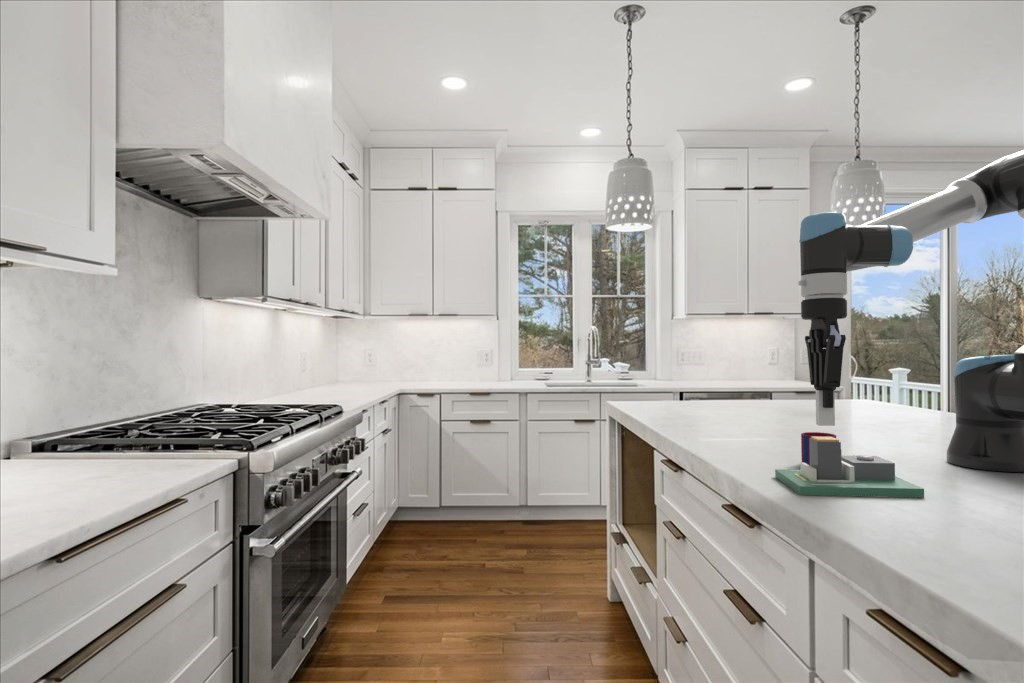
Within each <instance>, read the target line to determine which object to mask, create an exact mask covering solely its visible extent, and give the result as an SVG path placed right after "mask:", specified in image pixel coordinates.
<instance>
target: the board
mask: <svg viewBox="0 0 1024 683" xmlns="http://www.w3.org/2000/svg"><path fill="white" fill-rule="evenodd" d="M799 468H800V469H779V468H775V469H774V473H775V474H774V476H775V478H776V479H778V480H779V481H780V482H781V483H784V484H785V485H786V486H787V487H789V488H790V489H792V491H794V492H795V493H796V494H798V495H799V496H829V497H830V496H831V497H832V496H833V497H836V496H837V497H872V496H873V497H874V496H889V497H888V498H890V497H891V496H892V497H891V498H918V497H924V498H925V488H923V487H921V486H919V485H916V484H914V483H912V482H910V481H907V480H905V479H903V478H900V477H898V476H896V475H895V480H876V479H855V477H854V466H852V465H850V464H848V463H846V462H844V461H842V476H841V480H817V471H816V469H815V468H813V467H811V466H810V465H808V464H806V463H802V462H800V463H799ZM874 498H875V497H874Z"/></svg>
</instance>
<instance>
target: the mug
mask: <svg viewBox="0 0 1024 683" xmlns="http://www.w3.org/2000/svg"><path fill="white" fill-rule="evenodd" d="M811 436H818V437H833V438H836V439H837V435H836V434H834V433H831V432H830V433H828V432H818V431H816V432H814V431H813V432H812V431H809V432H802V433H801V434H800V437H801V438H800V440H801V441H800V443H801V445H800V446H801V451H800V452H801V463H806V464H808V465H810V449H809V438H811Z"/></svg>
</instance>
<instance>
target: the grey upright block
mask: <svg viewBox="0 0 1024 683" xmlns="http://www.w3.org/2000/svg"><path fill="white" fill-rule="evenodd" d="M809 449H810V466H811V467H813V468H815V469H816V471H817V480H841V476H842V457H841V456H842V442H841V441H840V439H838V438H837V437H836V438H833V437H818V436H811V438H809Z"/></svg>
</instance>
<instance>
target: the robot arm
mask: <svg viewBox="0 0 1024 683" xmlns="http://www.w3.org/2000/svg"><path fill="white" fill-rule="evenodd" d="M1013 212H1014V213H1015V212H1017V215H1018V216H1019V217H1020V218H1022V219H1024V149H1023V150H1020V151H1017V152H1013V153H1011V154H1008V155H1006V156H1003V157H1001V158H999V159H997V160H994V161H993V162H991V163H989V164H987V165H986V166H984V167H982V168H980V169H978V170H976V171H974V172H972V173H970V174H968V175H966V176H964V177H961V178H960V179H958V180H955V181H953V182H951V183H950V184H949V185H948V186H947V188H946V189H945V190H943V191H940V192H938V193H935V194H933V195H930V196H929V197H925V198H923V199H921V200H919V201H916V202H914V203H911V204H909V205H906V206H904V207H902V208H900V209H897V210H894V211H892V212H890V213H887V214H885V215H882V216H880V217H877V218H875V219H872V220H869V221H867V222H865V223H863V224H861V225H851V224H848V221H847V218H846V215H845V214H844V213H842V212H836V211H833V212H832V211H830V212H829V211H827V212H819V213H814V214H809V215H808V216H806V217H804V218H803V219H802V220H801V223H800V229H799V241H798V242H799V249H800V250H799V251H800V252H799V253H800V255H799V256H800V257H799V258H800V280H798V283H797V284H798V286H801V287H800V289H801V290H800V291H801V292H800V294H801V297H802V298H804V299H802V301H800V302H801V303H800V310H801V311H800V317H801V319H802V320H807V321H811V323H810V329H809V333H808V335H805V337H804V341H805V342H804V343H805V345H806V346H805V347H806V351H807V352H806V353H807V362H808V370H809V380H810V381H809V382H810V385H811V386H813V388H814V389H815V425H816V426H822V427H823V426H825V427H827V426H829V427H833V426H834V427H835V426H836V417H835V416H836V412H835V410H836V407H835V406H836V405H835V391H836V389H837V388H841V383H842V382H841V381H842V370H843V357H844V347H845V344H846V339H847V337H846V335H845V334H841V333H840V329H839V324H838V320H842V319H843V320H844V319H846V318H847V316H848V300H847V298H844V296H846V295H847V294H848V272H852V271H858V270H863V269H868V268H872V267H873V268H874V267H883V268H887V267H896V266H900V265H903V264H905V263H906V262H907V261H908V260H909V259H910V257H911V255H912V254H913V250H914V243H915V242H917V241H919V240H922V239H925V238H927V237H929V236H932V235H934V234H937V233H939V232H942V231H943V230H946V229H948V228H951V227H954V226H956V225H959V224H961V223H964V224H974V223H976V222H978V221H980V220H983V219H986V218H991V217H994V216H999V215H1003V214H1009V213H1013ZM954 372H955V373H954V376H953V378H954V400H955V404H954V405H955V428H954V431H953V434H952V436H951V439H950V441H949V444H948V446H947V449H946V462H948V463H949V464H952V465H956V466H959V467H963V468H968V469H969V468H970V469H976V470H985V471H995V472H1005V473H1006V472H1008V473H1009V472H1010V473H1024V344H1023V345H1022V346H1020V347H1019V348H1018V349H1017V350H1015V351H1014V353H1013V354H997V355H996V354H995V355H982V356H972V357H967V358H962V359H960V360H958V361H957V362H956V363H955V370H954Z"/></svg>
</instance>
